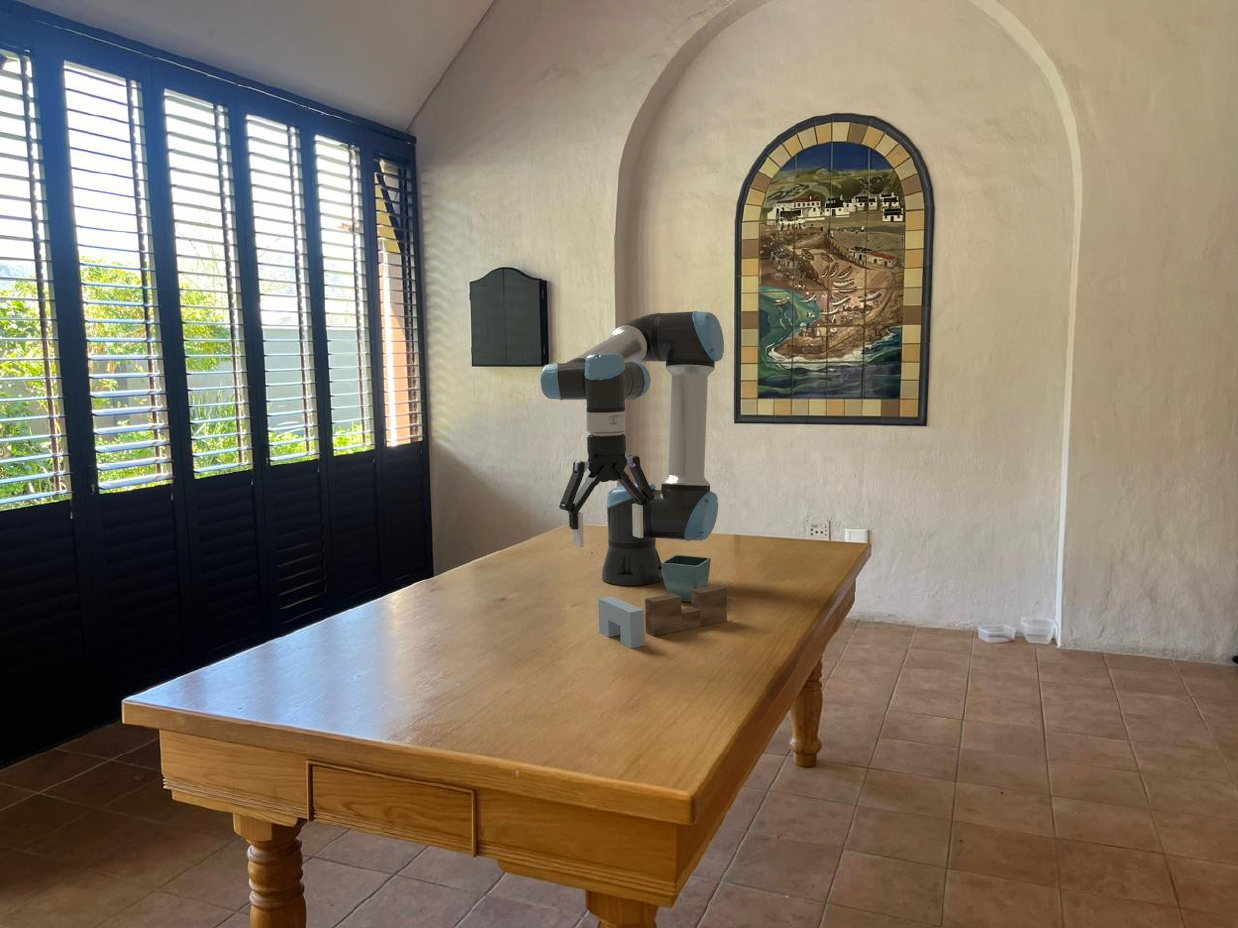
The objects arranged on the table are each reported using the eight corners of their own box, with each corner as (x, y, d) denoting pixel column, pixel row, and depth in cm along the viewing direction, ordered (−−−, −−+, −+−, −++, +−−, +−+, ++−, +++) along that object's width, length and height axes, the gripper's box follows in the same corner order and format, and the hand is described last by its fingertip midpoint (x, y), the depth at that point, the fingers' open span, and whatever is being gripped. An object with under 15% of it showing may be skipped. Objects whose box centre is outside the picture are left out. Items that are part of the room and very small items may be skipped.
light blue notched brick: (599, 632, 188) (598, 598, 187) (612, 629, 189) (611, 596, 188) (630, 648, 177) (630, 612, 176) (644, 645, 179) (643, 609, 178)
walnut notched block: (645, 632, 187) (644, 598, 186) (718, 617, 196) (717, 584, 195) (653, 636, 184) (653, 601, 183) (726, 620, 193) (726, 587, 192)
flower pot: (712, 595, 213) (711, 557, 212) (698, 606, 205) (698, 565, 204) (675, 592, 216) (675, 554, 215) (661, 602, 209) (660, 562, 207)
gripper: (558, 439, 172) (561, 552, 175) (670, 430, 185) (672, 536, 188) (539, 436, 179) (543, 545, 181) (649, 428, 191) (651, 530, 194)
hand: (608, 541), depth 184 cm, fingers open, 13 cm apart
